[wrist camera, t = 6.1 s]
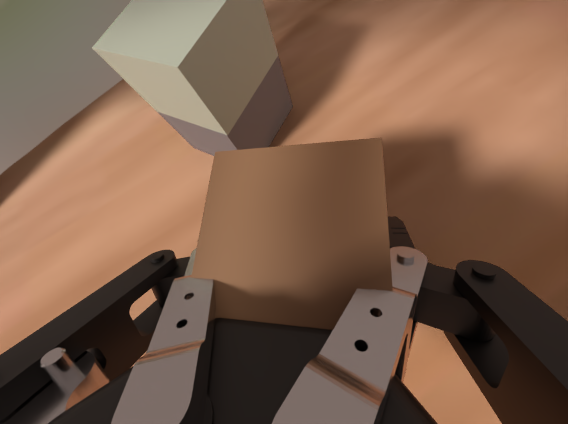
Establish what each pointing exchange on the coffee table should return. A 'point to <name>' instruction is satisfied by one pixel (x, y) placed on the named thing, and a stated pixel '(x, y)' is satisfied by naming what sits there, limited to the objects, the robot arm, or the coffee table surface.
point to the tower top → (192, 56)
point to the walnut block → (295, 231)
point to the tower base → (245, 119)
